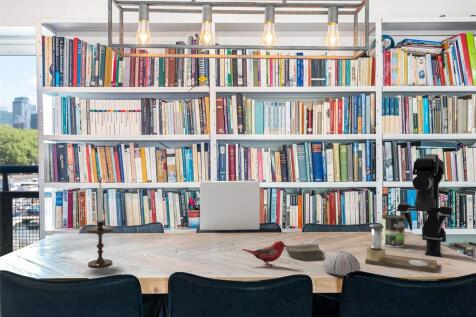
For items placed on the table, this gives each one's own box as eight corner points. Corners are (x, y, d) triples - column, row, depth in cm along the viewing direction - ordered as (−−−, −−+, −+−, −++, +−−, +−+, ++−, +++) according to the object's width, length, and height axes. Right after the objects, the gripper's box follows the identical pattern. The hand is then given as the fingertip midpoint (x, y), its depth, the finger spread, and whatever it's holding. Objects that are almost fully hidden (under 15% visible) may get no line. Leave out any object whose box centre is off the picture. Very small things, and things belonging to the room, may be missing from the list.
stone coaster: (409, 260, 155) (409, 259, 155) (428, 263, 151) (428, 261, 151) (407, 264, 149) (407, 263, 149) (427, 267, 145) (427, 265, 145)
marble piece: (318, 251, 177) (318, 242, 177) (330, 260, 162) (330, 250, 162) (282, 252, 174) (282, 243, 174) (291, 261, 160) (291, 251, 160)
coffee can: (409, 246, 185) (409, 217, 185) (392, 248, 181) (392, 218, 181) (393, 242, 195) (393, 214, 195) (377, 243, 191) (377, 215, 191)
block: (200, 230, 225) (200, 182, 225) (199, 227, 233) (199, 181, 233) (259, 229, 229) (259, 181, 229) (257, 226, 237) (257, 180, 237)
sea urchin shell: (318, 268, 149) (318, 247, 149) (352, 267, 151) (352, 246, 151) (330, 279, 136) (330, 256, 136) (367, 278, 137) (367, 255, 137)
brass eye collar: (369, 256, 162) (369, 246, 162) (386, 258, 158) (386, 248, 158) (365, 259, 156) (365, 249, 156) (383, 261, 153) (383, 251, 153)
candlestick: (119, 261, 158) (119, 175, 158) (104, 269, 147) (104, 177, 147) (96, 260, 160) (95, 175, 160) (79, 267, 150) (79, 176, 149)
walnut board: (371, 256, 167) (371, 252, 167) (436, 264, 155) (436, 260, 155) (365, 263, 156) (365, 259, 156) (435, 272, 143) (435, 268, 143)
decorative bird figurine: (286, 267, 150) (286, 241, 150) (241, 265, 153) (241, 240, 153) (286, 265, 153) (286, 240, 152) (242, 263, 155) (242, 238, 155)
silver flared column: (370, 256, 161) (370, 223, 161) (383, 258, 158) (384, 224, 158) (368, 259, 156) (368, 225, 156) (381, 261, 154) (381, 226, 153)
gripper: (394, 189, 147) (393, 231, 146) (450, 192, 136) (450, 237, 135) (400, 189, 156) (399, 228, 155) (453, 192, 146) (453, 234, 145)
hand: (424, 232), depth 147 cm, fingers open, 9 cm apart
